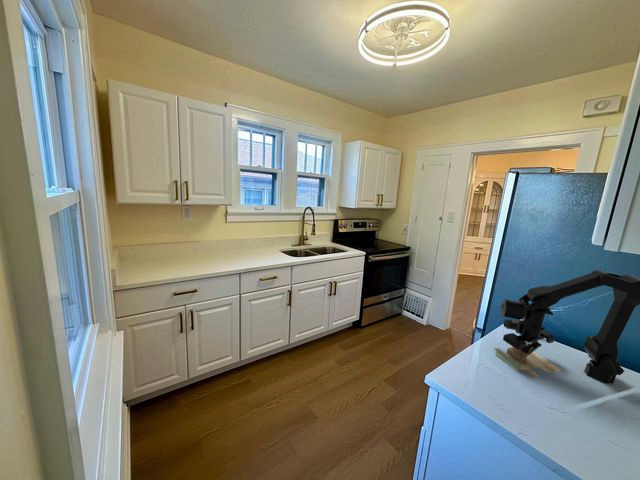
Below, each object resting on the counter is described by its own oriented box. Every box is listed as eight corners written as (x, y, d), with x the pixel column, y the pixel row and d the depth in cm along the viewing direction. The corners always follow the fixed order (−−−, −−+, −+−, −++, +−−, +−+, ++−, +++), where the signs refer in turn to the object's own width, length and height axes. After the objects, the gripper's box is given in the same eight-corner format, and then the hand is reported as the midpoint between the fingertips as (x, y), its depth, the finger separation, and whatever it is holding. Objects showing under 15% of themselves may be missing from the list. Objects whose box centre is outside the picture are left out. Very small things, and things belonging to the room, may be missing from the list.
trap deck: (519, 346, 111) (521, 337, 110) (562, 372, 97) (565, 363, 96) (486, 352, 106) (488, 343, 105) (526, 381, 92) (529, 371, 91)
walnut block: (513, 356, 103) (516, 346, 102) (525, 364, 98) (528, 354, 97) (505, 358, 101) (507, 348, 100) (516, 366, 97) (519, 355, 96)
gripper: (529, 308, 107) (521, 341, 111) (494, 313, 102) (486, 347, 106) (559, 322, 97) (549, 358, 101) (522, 329, 92) (513, 366, 96)
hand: (523, 357), depth 101 cm, fingers closed
